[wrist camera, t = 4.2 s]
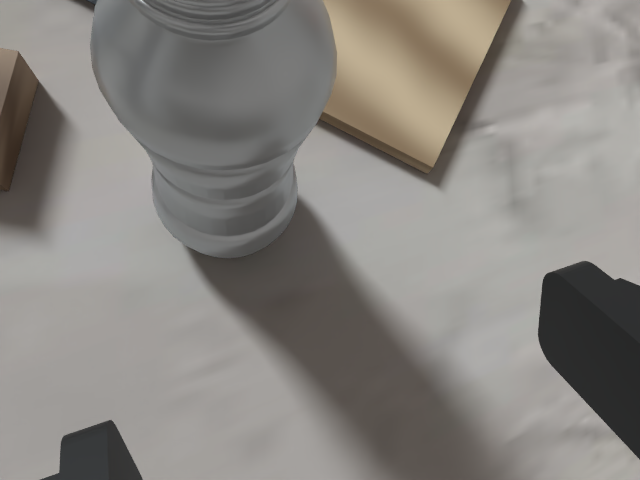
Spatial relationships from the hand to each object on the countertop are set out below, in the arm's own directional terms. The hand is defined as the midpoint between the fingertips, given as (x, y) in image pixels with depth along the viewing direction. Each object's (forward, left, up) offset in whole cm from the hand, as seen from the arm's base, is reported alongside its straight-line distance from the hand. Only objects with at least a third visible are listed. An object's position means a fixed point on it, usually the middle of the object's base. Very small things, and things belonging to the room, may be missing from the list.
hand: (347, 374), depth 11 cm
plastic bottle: (+6, +6, -19) cm, 21 cm away
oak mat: (+19, +4, -19) cm, 27 cm away
